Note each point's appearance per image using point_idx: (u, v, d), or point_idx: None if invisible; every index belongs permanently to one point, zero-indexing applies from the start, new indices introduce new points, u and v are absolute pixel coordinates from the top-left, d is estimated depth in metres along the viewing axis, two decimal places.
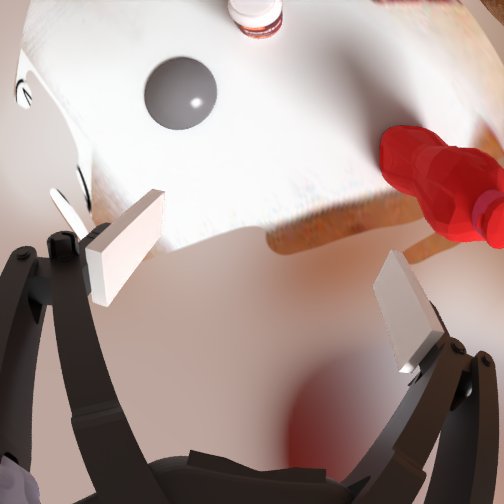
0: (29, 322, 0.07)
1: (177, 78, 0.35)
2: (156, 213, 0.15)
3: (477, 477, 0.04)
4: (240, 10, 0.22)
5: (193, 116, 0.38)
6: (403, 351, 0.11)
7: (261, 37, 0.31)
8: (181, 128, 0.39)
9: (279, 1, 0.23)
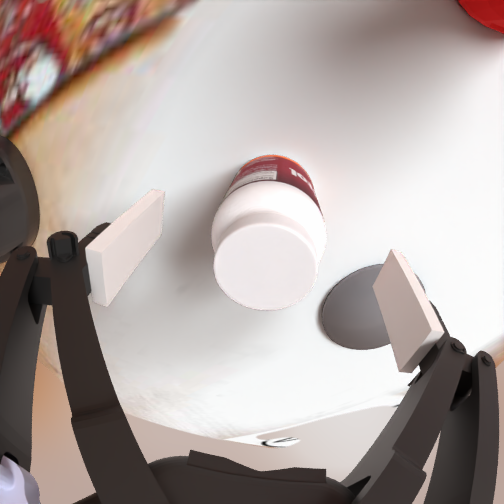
0: (29, 322, 0.07)
1: (353, 314, 0.27)
2: (156, 213, 0.15)
3: (477, 477, 0.04)
4: (302, 294, 0.13)
5: None
6: (403, 351, 0.11)
7: None
8: None
9: (263, 192, 0.14)
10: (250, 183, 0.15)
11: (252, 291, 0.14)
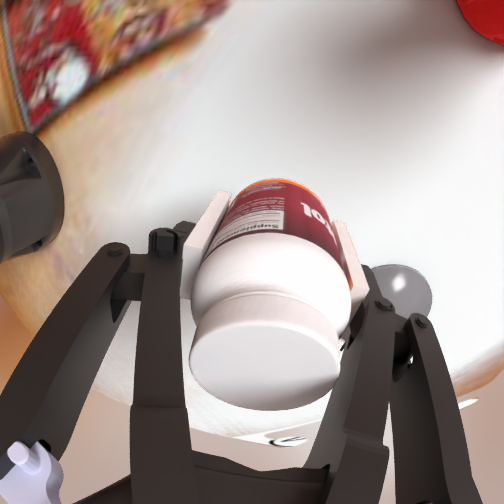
0: (106, 320, 0.09)
1: None
2: (225, 213, 0.16)
3: (446, 453, 0.05)
4: (314, 398, 0.09)
5: (420, 297, 0.26)
6: None
7: None
8: (428, 312, 0.27)
9: (263, 254, 0.09)
10: (244, 235, 0.10)
11: (245, 393, 0.09)
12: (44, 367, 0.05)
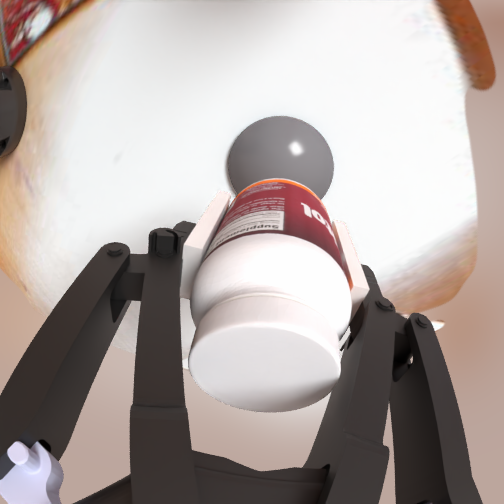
0: (106, 320, 0.09)
1: (257, 168, 0.30)
2: (225, 213, 0.16)
3: (446, 453, 0.05)
4: (314, 399, 0.09)
5: (316, 150, 0.28)
6: None
7: None
8: (331, 169, 0.29)
9: (263, 255, 0.09)
10: (244, 236, 0.10)
11: (245, 395, 0.09)
12: (44, 367, 0.05)
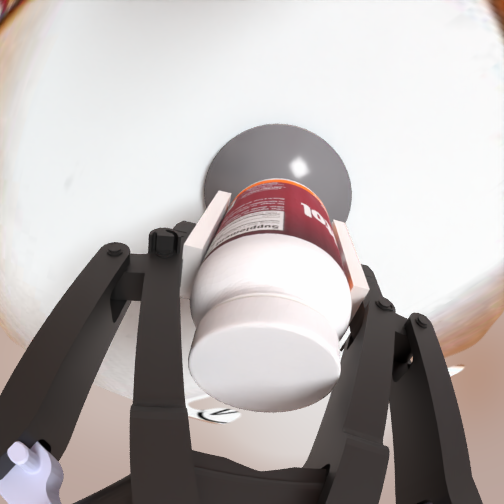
0: (106, 320, 0.09)
1: None
2: (225, 213, 0.16)
3: (446, 453, 0.05)
4: (314, 400, 0.09)
5: (329, 174, 0.20)
6: None
7: None
8: (349, 201, 0.21)
9: (263, 255, 0.09)
10: (244, 236, 0.10)
11: (245, 395, 0.09)
12: (44, 367, 0.05)
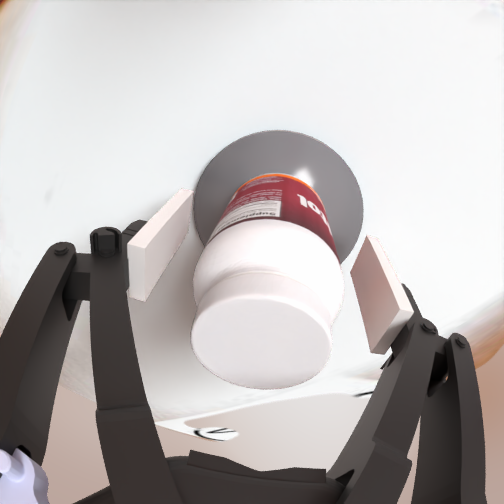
0: (61, 318, 0.08)
1: None
2: (186, 211, 0.16)
3: (465, 466, 0.05)
4: (308, 376, 0.10)
5: (338, 190, 0.17)
6: (374, 332, 0.12)
7: None
8: (360, 220, 0.18)
9: (260, 238, 0.10)
10: (244, 222, 0.11)
11: (243, 370, 0.10)
12: (10, 371, 0.05)
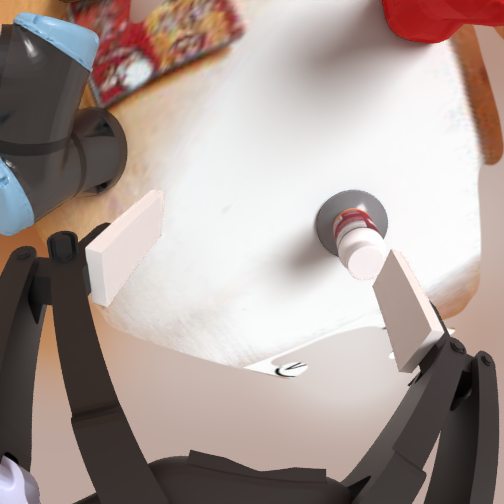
0: (29, 322, 0.07)
1: None
2: (156, 213, 0.15)
3: (477, 477, 0.04)
4: (378, 273, 0.33)
5: (378, 215, 0.40)
6: (403, 351, 0.11)
7: None
8: (386, 227, 0.41)
9: (364, 233, 0.33)
10: (357, 228, 0.34)
11: (360, 272, 0.33)
12: None
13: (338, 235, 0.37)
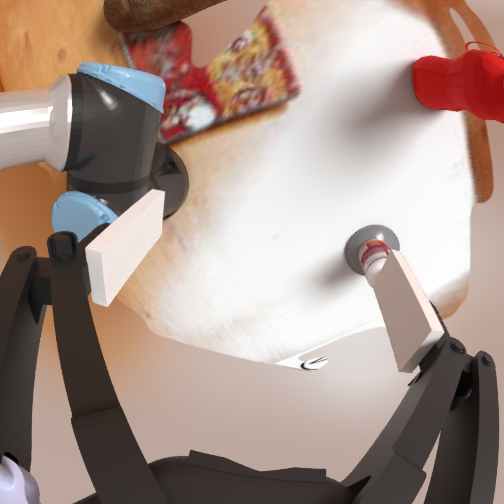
0: (29, 322, 0.07)
1: None
2: (156, 213, 0.15)
3: (477, 477, 0.04)
4: None
5: (392, 243, 0.52)
6: (403, 351, 0.11)
7: None
8: None
9: None
10: (381, 258, 0.45)
11: None
12: None
13: (365, 262, 0.48)
